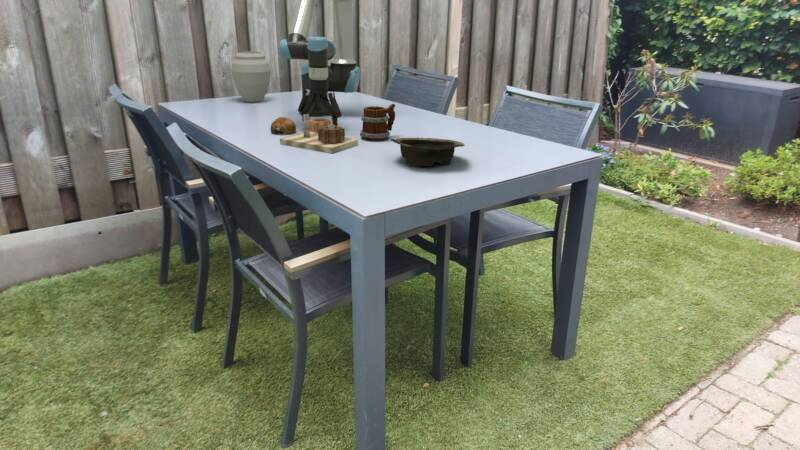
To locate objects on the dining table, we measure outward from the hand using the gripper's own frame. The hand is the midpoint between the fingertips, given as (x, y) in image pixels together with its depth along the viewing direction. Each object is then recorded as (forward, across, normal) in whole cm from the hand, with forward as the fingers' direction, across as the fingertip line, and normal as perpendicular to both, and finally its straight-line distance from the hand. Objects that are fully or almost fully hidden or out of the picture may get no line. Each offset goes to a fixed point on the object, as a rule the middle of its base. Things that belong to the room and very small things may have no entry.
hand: (319, 132), depth 229 cm
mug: (0, +24, +6) cm, 25 cm away
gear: (0, 0, 0) cm, 0 cm away
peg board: (0, +12, -16) cm, 20 cm away
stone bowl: (+1, +56, -13) cm, 57 cm away
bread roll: (0, -12, -8) cm, 15 cm away
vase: (0, -72, +37) cm, 81 cm away
